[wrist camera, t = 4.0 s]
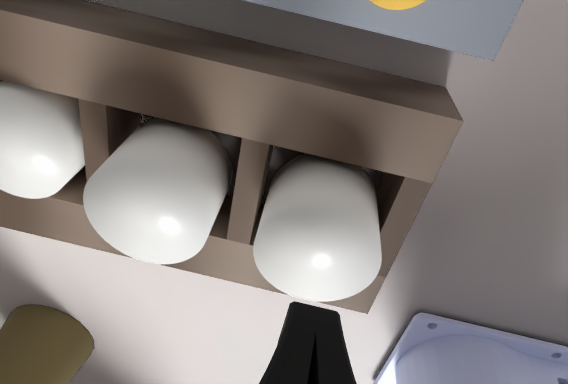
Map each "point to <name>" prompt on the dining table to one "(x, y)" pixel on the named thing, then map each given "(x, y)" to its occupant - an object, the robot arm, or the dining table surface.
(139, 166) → the middle button
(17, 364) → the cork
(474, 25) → the pattern card
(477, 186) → the dining table surface
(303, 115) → the button board
